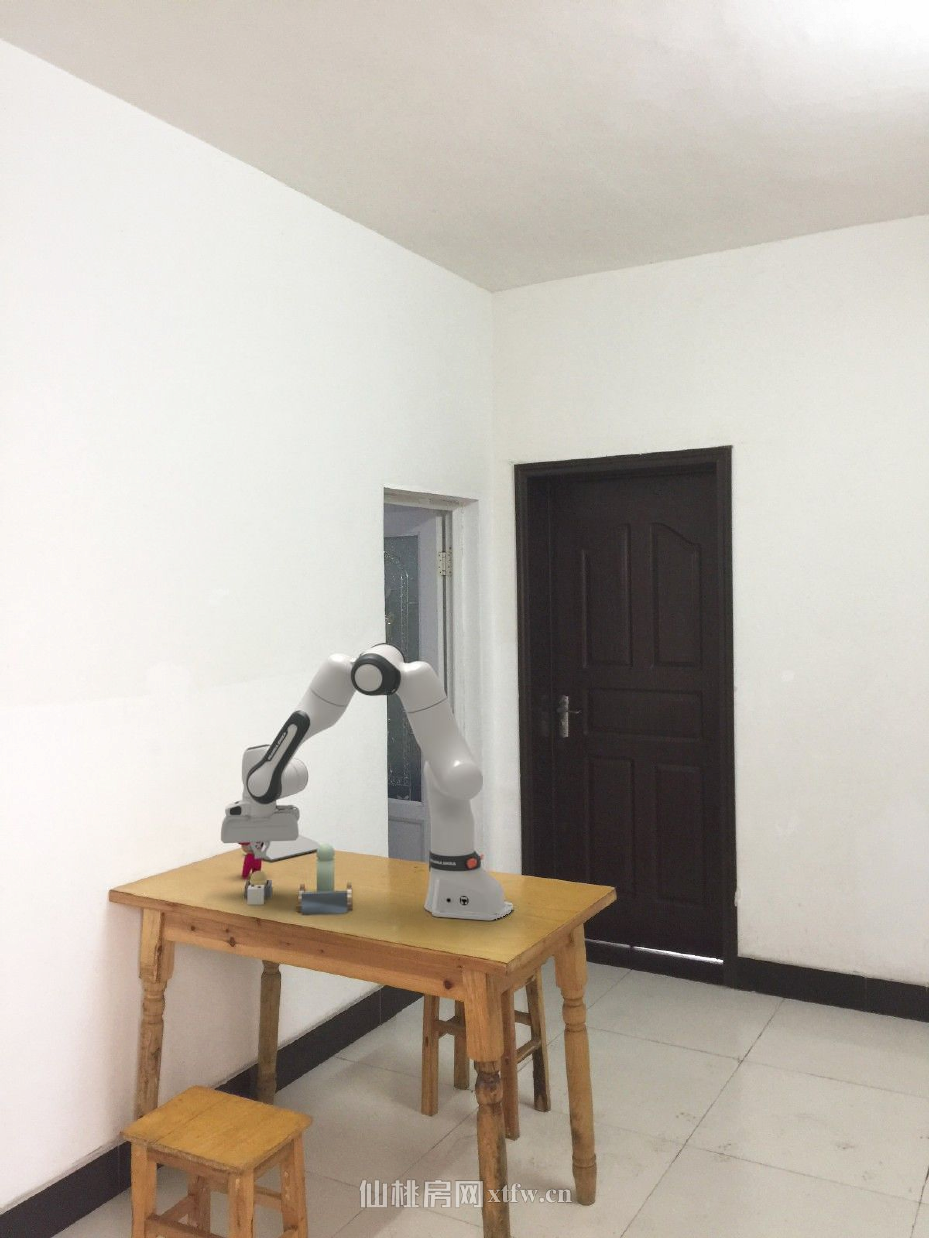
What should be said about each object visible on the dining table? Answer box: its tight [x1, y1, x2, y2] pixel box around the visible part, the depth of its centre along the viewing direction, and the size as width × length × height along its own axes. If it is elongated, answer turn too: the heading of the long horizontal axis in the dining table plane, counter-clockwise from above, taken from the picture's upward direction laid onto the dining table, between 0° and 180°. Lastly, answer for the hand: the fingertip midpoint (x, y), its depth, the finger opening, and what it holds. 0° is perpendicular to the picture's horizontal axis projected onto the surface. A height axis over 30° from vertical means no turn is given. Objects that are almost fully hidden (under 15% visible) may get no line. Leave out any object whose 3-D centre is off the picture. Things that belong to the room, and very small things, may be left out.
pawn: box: [316, 843, 336, 892], centre depth 279 cm, size 5×5×13 cm
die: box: [247, 884, 266, 906], centre depth 270 cm, size 4×4×4 cm
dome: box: [249, 870, 268, 885], centre depth 278 cm, size 4×4×4 cm
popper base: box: [243, 879, 274, 900], centre depth 278 cm, size 7×7×3 cm
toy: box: [237, 842, 264, 879], centre depth 295 cm, size 8×8×15 cm
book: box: [261, 834, 322, 862], centre depth 325 cm, size 15×23×4 cm, turn 139°
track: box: [296, 882, 353, 915], centre depth 272 cm, size 24×14×5 cm, turn 7°
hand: (260, 858), depth 278 cm, fingers closed
